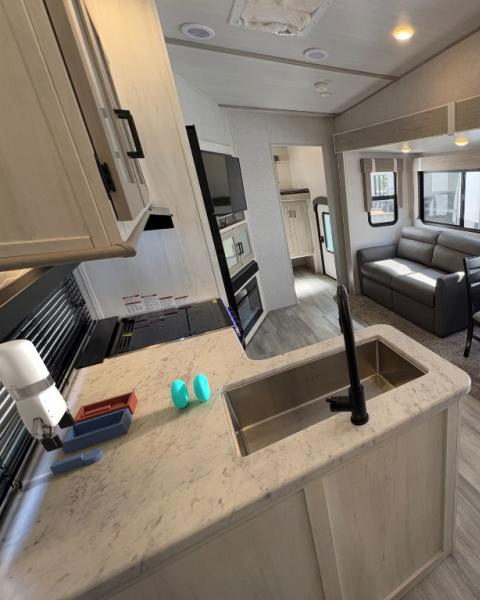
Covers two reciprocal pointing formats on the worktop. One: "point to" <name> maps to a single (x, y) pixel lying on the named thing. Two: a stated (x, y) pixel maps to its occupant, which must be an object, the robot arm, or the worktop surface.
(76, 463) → the blue spoon
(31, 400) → the robot arm
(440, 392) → the worktop surface
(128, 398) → the red bin
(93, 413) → the red elongated piece
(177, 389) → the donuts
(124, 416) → the blue bin
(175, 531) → the worktop surface
